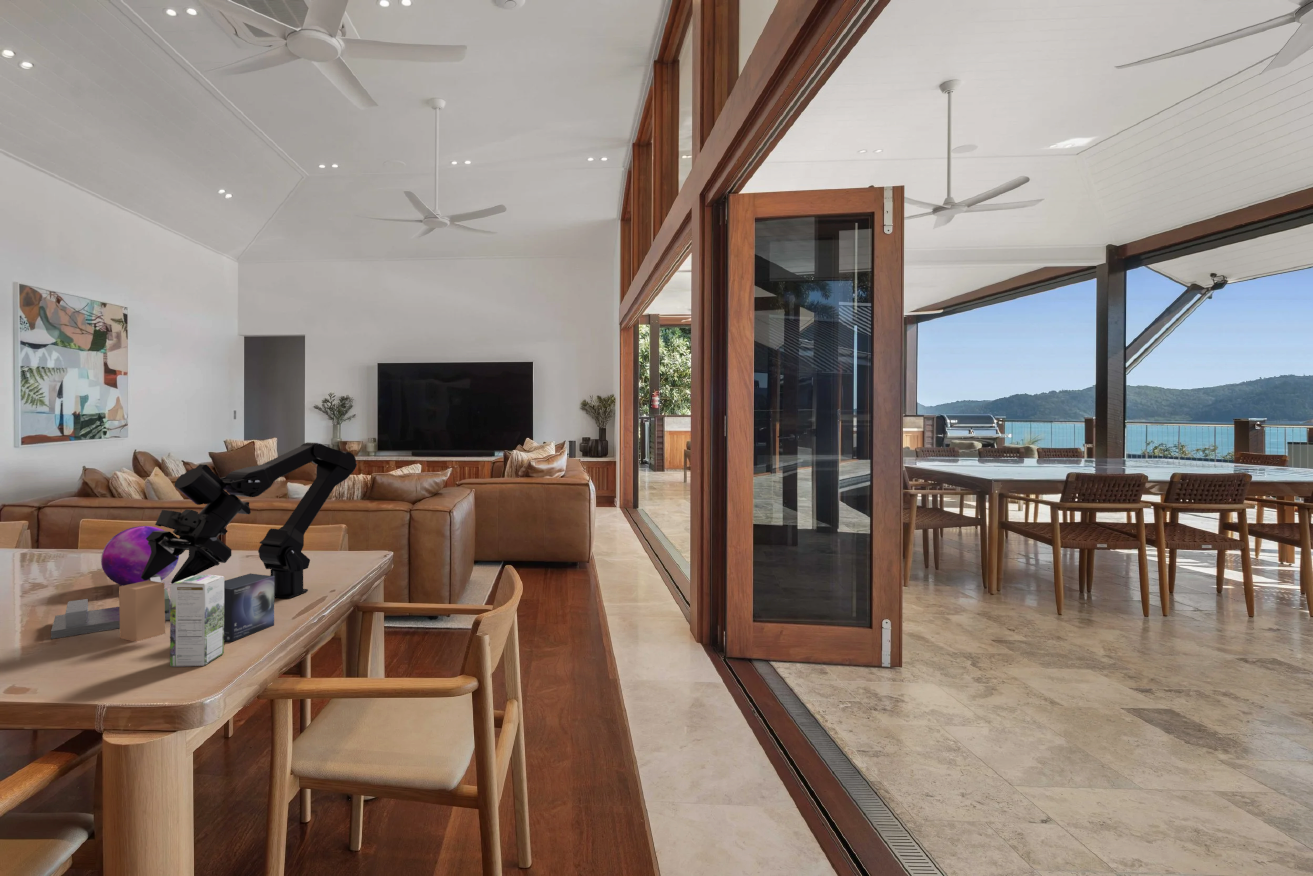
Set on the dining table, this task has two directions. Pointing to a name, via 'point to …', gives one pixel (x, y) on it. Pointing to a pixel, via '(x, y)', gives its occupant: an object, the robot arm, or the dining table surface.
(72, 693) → the dining table surface
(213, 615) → the syrup box
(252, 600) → the small box
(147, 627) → the tan rectangular block
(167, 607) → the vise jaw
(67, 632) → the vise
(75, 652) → the dining table surface
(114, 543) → the decorative orb
